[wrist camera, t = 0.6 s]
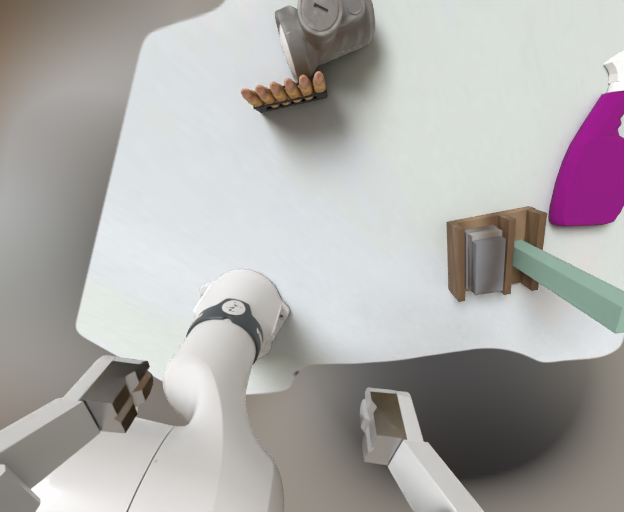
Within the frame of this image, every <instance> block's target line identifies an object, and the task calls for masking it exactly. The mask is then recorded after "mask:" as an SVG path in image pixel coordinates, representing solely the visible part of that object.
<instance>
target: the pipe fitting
mask: <svg viewBox="0 0 624 512" xmlns="http://www.w3.org/2000/svg"><path fill="white" fill-rule="evenodd" d="M275 19H276V24H277V27H278V31H279V35H280V40H281V45H282V49H283V53H284V56H285V59H286V61H287V63H288V65H289V67H290V69H291V72H292V74H293V77H294V79H295V81H296V83H298V82H299V78H300V76H301V75H305V76H307V77H308V79H309V80H310V79H311V77H312V76H313V74H314V72H315V70H316V68H317V67H318V66H320V65H322V64H325V63H327V62H329V61H332V60H334V59H337V58H339V57H341V56H344V55H346V54H349V53H351V52H353V51H356V50H358V49H360V48H363V47H365V46H367V45H369V44H370V43H371V41H372V38H373V34H374V29H375V16H374V9H373V4H372V1H371V0H298V7H297V9H296V8H294V7H292V6H286V7H284V8H282V9H279V10H277V11H275Z"/></svg>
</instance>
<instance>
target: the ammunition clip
mask: <svg viewBox="0 0 624 512" xmlns="http://www.w3.org/2000/svg"><path fill="white" fill-rule="evenodd" d="M311 82H313V85H312V84H311ZM297 85H299V87H298V86H297ZM284 88H285V89H284ZM255 90H256V92H255V91H254V90H249V89H242V90H241V94H242V96H243V97H244V99H246V100H247V101H248V103H250V104H251V105H253V107H254V109H256V110H257V111H259V112H266V111H270V110H275V109H279V108H284V107H288V106H293V105H297V104H302V103H306V102H310V101H315V100H319V99H324V98H327V91H326V81H325V78H324V76H323V74H322V72H320V71H317V72H316V73H315V75H314V78H313V79H311V80H309V79H308V77H307V76H305V75H301V76H300V78H299V82H298V83H295V82H294V81H292V80H291V79H289V78H287V79H285V81H284V86H282V85H280V84H278V83H276V82H271V83H270V89H268V88H267V87H263V86H261V85H258V86H256V88H255Z"/></svg>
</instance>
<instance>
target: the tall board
mask: <svg viewBox="0 0 624 512" xmlns="http://www.w3.org/2000/svg"><path fill="white" fill-rule="evenodd" d="M513 266H514V267H516V268H517V269H519V270H520V271H522V272H523V273H525V274H526V275H528V276H529V277H531V278H532V279H534V280H535V281H537V282H538V283H540V284H541V285H543V286H545V287H546V288H548V289H549V290H551V291H552V292H554V293H555V294H557V295H558V296H560V297H561V298H563V299H564V300H566V301H567V302H569V303H570V304H572V305H573V306H575V307H576V308H578V309H579V310H581V311H582V312H584V313H585V314H587V315H588V316H590V317H591V318H593V319H594V320H596V321H597V322H599V323H600V324H602V325H603V326H605V327H606V328H608V329H609V330H611V331H612V332H614V333H623V332H624V291H622V290H620V289H618V288H616V287H614V286H612V285H611V284H609V283H607V282H605V281H603V280H601V279H599V278H597V277H595V276H593V275H591V274H589V273H587V272H585V271H583V270H581V269H579V268H577V267H575V266H573V265H571V264H569V263H567V262H565V261H563V260H561V259H559V258H557V257H555V256H553V255H551V254H549V253H547V252H545V251H543V250H541V249H539V248H537V247H535V246H533V245H531V244H529V243H527V242H525V241H523V240H516V241H514V254H513Z"/></svg>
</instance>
